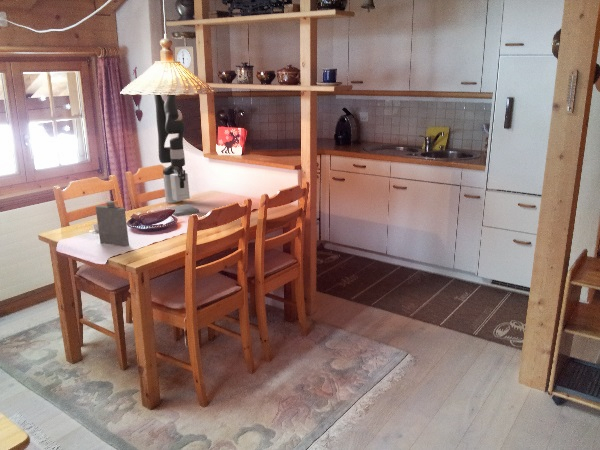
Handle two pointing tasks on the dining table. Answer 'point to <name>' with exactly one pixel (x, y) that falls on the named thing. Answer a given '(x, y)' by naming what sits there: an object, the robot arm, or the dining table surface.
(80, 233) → the dining table surface
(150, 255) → the dining table surface
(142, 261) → the dining table surface
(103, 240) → the hip flask
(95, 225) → the teacup and saucer
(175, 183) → the skincare box
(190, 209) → the slate board
